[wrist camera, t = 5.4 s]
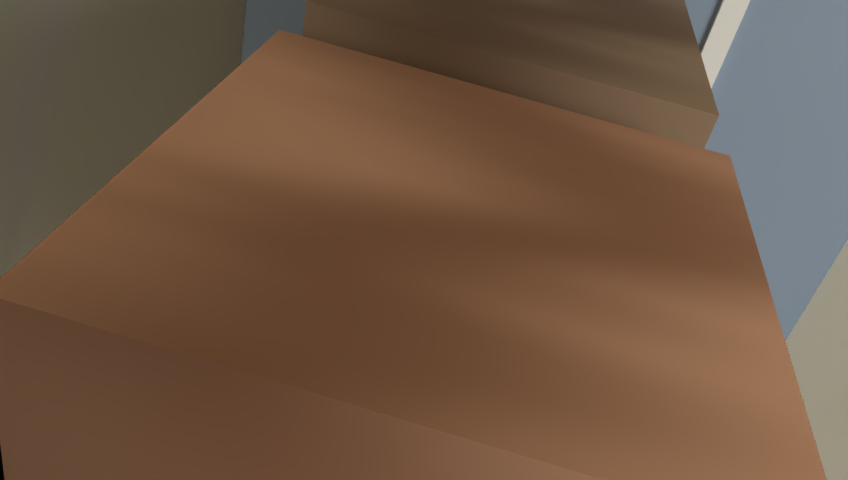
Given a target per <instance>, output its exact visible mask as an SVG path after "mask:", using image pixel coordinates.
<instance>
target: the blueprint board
mask: <svg viewBox="0 0 848 480" xmlns="http://www.w3.org/2000/svg"><path fill="white" fill-rule="evenodd" d="M306 1H307V0H246V11H245V22H244V33H243V45H242V56H241V64H242V63H243V62H244V61H245V60H246V59H247V58H248V57H250V56H251V55H252V54H253V53H254V52H255V51H256V50H257V49H259V48H260V47H261V46H262V45H263V44H264V43H265V42H266V41H268V40H269V39H270V38H271V37H272V36H273V35H274V34H275V33H277V32H278V31H279V30H283V31H286V32H290V33H293V34H297V35H300V36H302V29H303V22H304V14H305V6H306ZM684 1H685V4H686V7H687V11H688V14H689V17H690V20H691V24H692V27H693V30H694V34H695V37H696V40H697V44H698V47H699V50H700V54H701V57H702V60H703V64H704V67H705V70H706V73H707V77H708V80H709V83H710V87H711V90H712V93H713V97H714V100H715V103H716V107H717V110H718V113H719V117H718V119H717V121H716V123H715V126H714V128H713V130H712V132H711V134H710V137H709V139H708V141H707V143H706V145H705V148H704V149H707V150H711V151H715V152H718V153H722V154H725V155H729V156H730V157H731V161H732V164H733V167H734V171H735V174H736V178H737V181H738V184H739V188H740V191H741V194H742V198H743V201H744V204H745V208H746V211H747V214H748V218H749V221H750V225H751V228H752V231H753V235H754V238H755V241H756V245H757V248H758V251H759V255H760V258H761V261H762V265H763V268H764V272H765V275H766V278H767V282H768V285H769V288H770V292H771V295H772V298H773V302H774V305H775V308H776V312H777V315H778V319H779V322H780V325H781V329H782V332H783V335H784V339H785V341H786V339H787V337H788V336H789V334H790V332H791V331H792V329H793V327H794V326H795V324H796V322H797V321H798V319H799V318H800V316H801V314H802V313H803V311H804V309H805V308H806V306H807V304H808V303H809V301H810V300H811V298H812V296H813V295H814V293H815V291H816V290H817V288H818V286H819V285H820V283H821V282H822V280H823V278H824V277H825V275H826V273H827V272H828V270H829V268H830V267H831V265H832V264H833V262H834V260H835V259H836V257H837V255H838V254H839V252H840V250H841V249H842V247H843V246H844V244H845V242H846V241H847V239H848V0H684Z"/></svg>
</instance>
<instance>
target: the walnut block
mask: <svg viewBox="0 0 848 480" xmlns="http://www.w3.org/2000/svg"><path fill="white" fill-rule="evenodd" d="M302 36H304V37H308V38H311V39H315V40H318V41H322V42H325V43H329V44H333V45H336V46H340V47H343V48H347V49H350V50H354V51H358V52H361V53H365V54H368V55H372V56H375V57H379V58H383V59H386V60H390V61H393V62H397V63H400V64H404V65H408V66H411V67H415V68H418V69H422V70H425V71H429V72H433V73H436V74H440V75H443V76H447V77H450V78H454V79H458V80H461V81H465V82H468V83H472V84H475V85H479V86H483V87H486V88H490V89H493V90H497V91H500V92H504V93H507V94H511V95H515V96H518V97H522V98H525V99H529V100H532V101H536V102H540V103H543V104H547V105H550V106H554V107H557V108H561V109H565V110H568V111H572V112H575V113H579V114H582V115H586V116H590V117H593V118H597V119H600V120H604V121H607V122H611V123H615V124H618V125H622V126H625V127H629V128H632V129H636V130H640V131H643V132H647V133H650V134H654V135H657V136H661V137H665V138H668V139H672V140H675V141H679V142H682V143H686V144H690V145H693V146H697V147H700V148H705V145H706V143H707V141H708V139H709V137H710V134H711V132H712V130H713V128H714V126H715V123H716V121H717V119H718V117H719V113H718V110H717V107H716V103H715V100H714V97H713V93H712V90H711V87H710V83H709V80H708V77H707V73H706V70H705V67H704V64H703V60H702V57H701V54H700V50H699V47H698V44H697V40H696V37H695V34H694V30H693V27H692V24H691V20H690V17H689V14H688V11H687V7H686V4H685V1H684V0H307V1H306V6H305V14H304V22H303V29H302Z"/></svg>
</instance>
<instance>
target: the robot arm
mask: <svg viewBox="0 0 848 480" xmlns="http://www.w3.org/2000/svg"><path fill="white" fill-rule="evenodd" d="M0 480H4V471H3V463H2V454H1V445H0Z"/></svg>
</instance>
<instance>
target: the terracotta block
mask: <svg viewBox="0 0 848 480" xmlns="http://www.w3.org/2000/svg"><path fill="white" fill-rule="evenodd" d="M0 445H1V454H2V463H3V471H4V480H826V476H825V473H824V470H823V466H822V463H821V459H820V456H819V453H818V449H817V446H816V443H815V439H814V436H813V433H812V429H811V426H810V423H809V419H808V416H807V413H806V409H805V406H804V402H803V399H802V396H801V392H800V389H799V386H798V382H797V379H796V376H795V372H794V369H793V366H792V362H791V359H790V355H789V352H788V349H787V345H786V342H785V339H784V335H783V332H782V329H781V325H780V322H779V319H778V315H777V312H776V308H775V305H774V302H773V298H772V295H771V292H770V288H769V285H768V282H767V278H766V275H765V272H764V268H763V265H762V261H761V258H760V255H759V251H758V248H757V245H756V241H755V238H754V235H753V231H752V228H751V225H750V221H749V218H748V214H747V211H746V208H745V204H744V201H743V198H742V194H741V191H740V188H739V184H738V181H737V178H736V174H735V171H734V167H733V164H732V161H731V157H730V156H729V155H725V154H722V153H718V152H715V151H711V150H707V149H704V148H700V147H697V146H693V145H690V144H686V143H682V142H679V141H675V140H672V139H668V138H665V137H661V136H657V135H654V134H650V133H647V132H643V131H640V130H636V129H632V128H629V127H625V126H622V125H618V124H615V123H611V122H607V121H604V120H600V119H597V118H593V117H590V116H586V115H582V114H579V113H575V112H572V111H568V110H565V109H561V108H557V107H554V106H550V105H547V104H543V103H540V102H536V101H532V100H529V99H525V98H522V97H518V96H515V95H511V94H507V93H504V92H500V91H497V90H493V89H490V88H486V87H483V86H479V85H475V84H472V83H468V82H465V81H461V80H458V79H454V78H450V77H447V76H443V75H440V74H436V73H433V72H429V71H425V70H422V69H418V68H415V67H411V66H408V65H404V64H400V63H397V62H393V61H390V60H386V59H383V58H379V57H375V56H372V55H368V54H365V53H361V52H358V51H354V50H350V49H347V48H343V47H340V46H336V45H333V44H329V43H325V42H322V41H318V40H315V39H311V38H308V37H304V36H300V35H297V34H293V33H290V32H286V31H283V30H279V31H278V32H277V33H275V34H274V35H273V36H272V37H271V38H270V39H269V40H268V41H266V42H265V43H264V44H263V45H262V46H261V47H260V48H259V49H257V50H256V51H255V52H254V53H253V54H252V55H251V56H250V57H248V58H247V59H246V60H245V61H244V62H243V63H242V64H241V65H239V66H238V67H237V68H236V69H235V70H234V71H233V72H232V73H230V74H229V75H228V76H227V77H226V78H225V79H224V80H223V81H221V82H220V83H219V84H218V85H217V86H216V87H215V88H214V89H212V90H211V91H210V92H209V93H208V94H207V95H206V96H205V97H203V98H202V99H201V100H200V101H199V102H198V103H197V104H196V105H194V106H193V107H192V108H191V109H190V110H189V111H188V112H187V113H185V114H184V115H183V116H182V117H181V118H180V119H179V120H178V121H176V122H175V123H174V124H173V125H172V126H171V127H170V128H169V129H167V130H166V131H165V132H164V133H163V134H162V135H161V136H160V137H158V138H157V139H156V140H155V141H154V142H153V143H152V144H151V145H149V146H148V147H147V148H146V149H145V150H144V151H143V152H142V153H140V154H139V155H138V156H137V157H136V158H135V159H134V160H133V161H131V162H130V163H129V164H128V165H127V166H126V167H125V168H124V169H122V170H121V171H120V172H119V173H118V174H117V175H116V176H115V177H113V178H112V179H111V180H110V181H109V182H108V183H107V184H106V185H104V186H103V187H102V188H101V189H100V190H99V191H98V192H97V193H95V194H94V195H93V196H92V197H91V198H90V199H89V200H88V201H87V202H85V203H84V204H83V205H82V206H81V207H80V208H79V209H78V210H76V211H75V212H74V213H73V214H72V215H71V216H70V217H69V218H67V219H66V220H65V221H64V222H63V223H62V224H61V225H60V226H58V227H57V228H56V229H55V230H54V231H53V232H52V233H51V234H49V235H48V236H47V237H46V238H45V239H44V240H43V241H42V242H40V243H39V244H38V245H37V246H36V247H35V248H34V249H33V250H31V251H30V252H29V253H28V254H27V255H26V256H25V257H24V258H22V259H21V260H20V261H19V262H18V263H17V264H16V265H15V266H13V267H12V268H11V269H10V270H9V271H8V272H7V273H6V274H4V275H3V276H2V277H1V278H0Z"/></svg>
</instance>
